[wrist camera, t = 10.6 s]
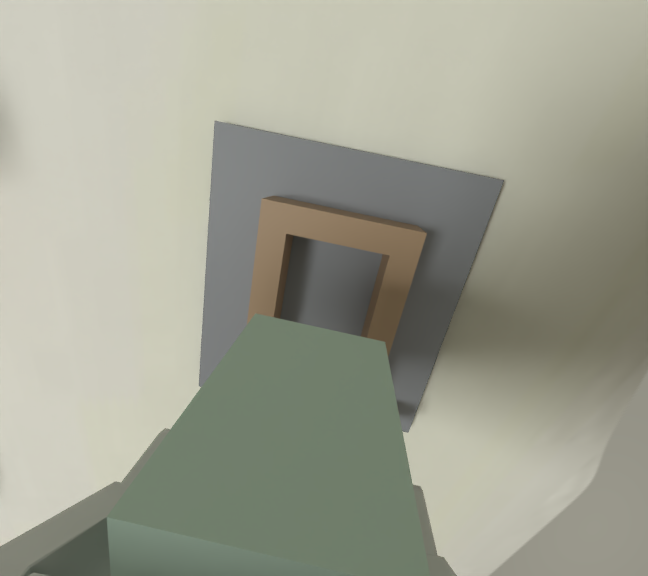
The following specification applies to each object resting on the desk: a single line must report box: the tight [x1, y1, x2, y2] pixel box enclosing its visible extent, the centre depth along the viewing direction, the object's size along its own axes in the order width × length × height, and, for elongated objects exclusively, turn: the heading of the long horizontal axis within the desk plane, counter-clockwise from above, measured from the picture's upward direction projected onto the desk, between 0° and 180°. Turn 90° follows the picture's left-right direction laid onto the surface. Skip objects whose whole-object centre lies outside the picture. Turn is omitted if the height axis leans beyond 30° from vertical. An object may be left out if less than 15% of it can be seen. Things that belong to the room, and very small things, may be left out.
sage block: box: [107, 313, 430, 576], centre depth 8 cm, size 4×7×6 cm, turn 168°
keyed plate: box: [199, 121, 504, 433], centre depth 19 cm, size 18×16×4 cm
